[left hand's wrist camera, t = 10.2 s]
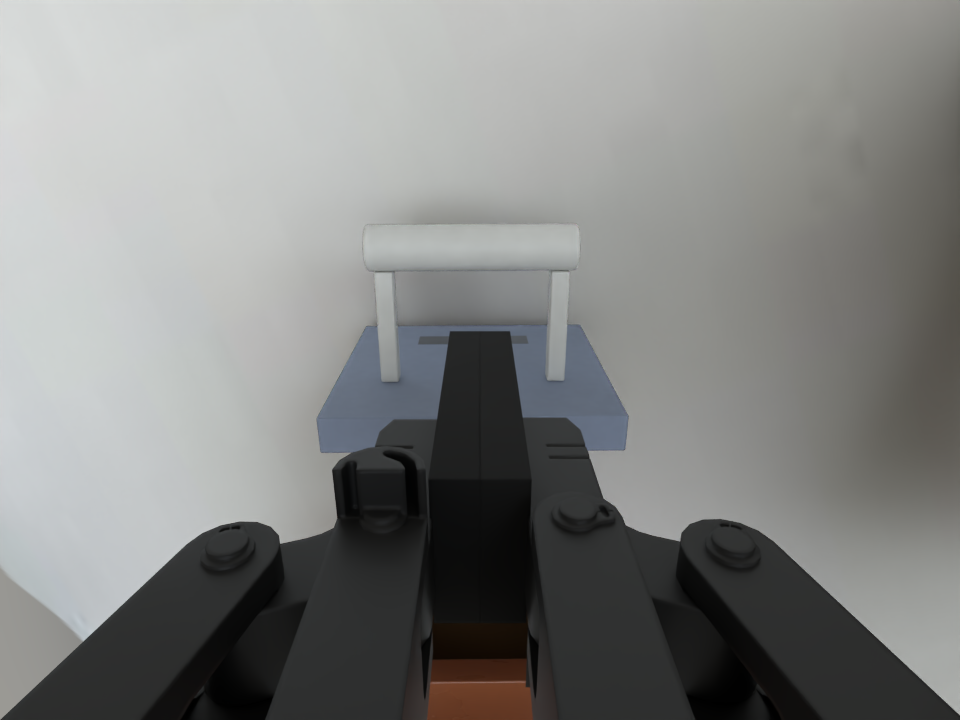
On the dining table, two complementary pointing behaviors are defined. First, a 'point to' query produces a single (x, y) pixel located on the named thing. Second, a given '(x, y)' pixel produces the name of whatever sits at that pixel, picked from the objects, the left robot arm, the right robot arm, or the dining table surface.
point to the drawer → (422, 354)
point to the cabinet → (479, 690)
